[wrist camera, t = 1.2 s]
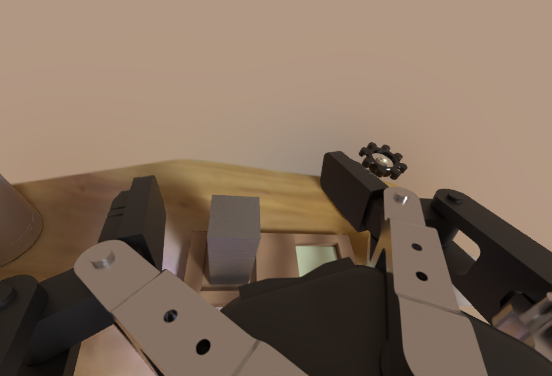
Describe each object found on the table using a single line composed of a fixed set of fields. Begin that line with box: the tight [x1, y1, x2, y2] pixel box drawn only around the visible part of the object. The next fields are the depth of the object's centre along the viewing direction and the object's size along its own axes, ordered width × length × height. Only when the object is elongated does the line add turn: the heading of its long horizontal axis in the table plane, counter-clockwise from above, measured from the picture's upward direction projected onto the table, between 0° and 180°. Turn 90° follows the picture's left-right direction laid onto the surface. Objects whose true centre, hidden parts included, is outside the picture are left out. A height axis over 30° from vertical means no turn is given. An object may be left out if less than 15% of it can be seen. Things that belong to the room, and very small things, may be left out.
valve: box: [359, 142, 407, 180], centre depth 38 cm, size 7×7×12 cm
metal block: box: [207, 195, 261, 285], centre depth 26 cm, size 4×4×12 cm
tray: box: [184, 231, 357, 307], centre depth 32 cm, size 22×9×2 cm, turn 93°
